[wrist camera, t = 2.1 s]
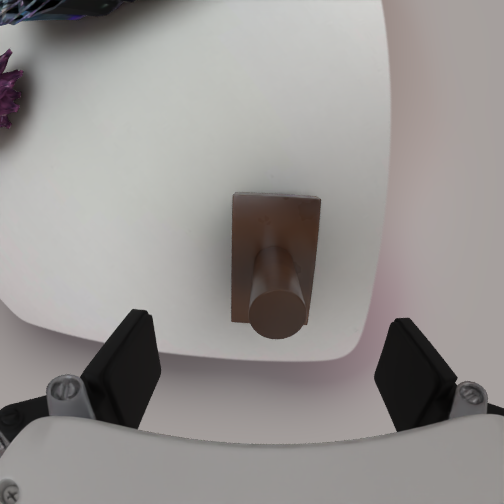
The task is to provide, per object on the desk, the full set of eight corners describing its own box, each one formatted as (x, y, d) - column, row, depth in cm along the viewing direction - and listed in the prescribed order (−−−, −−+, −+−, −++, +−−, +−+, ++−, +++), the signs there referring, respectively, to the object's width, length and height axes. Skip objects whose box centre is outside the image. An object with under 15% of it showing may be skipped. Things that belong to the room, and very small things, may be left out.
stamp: (237, 190, 20) (214, 212, 11) (313, 193, 20) (352, 218, 11) (235, 302, 23) (218, 384, 14) (302, 305, 23) (321, 387, 14)
